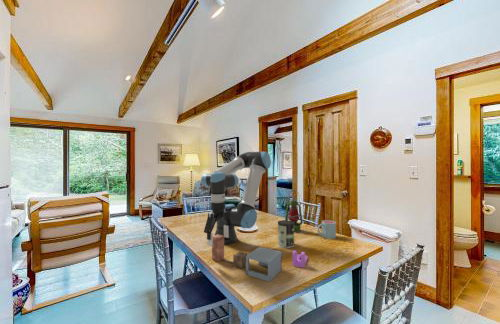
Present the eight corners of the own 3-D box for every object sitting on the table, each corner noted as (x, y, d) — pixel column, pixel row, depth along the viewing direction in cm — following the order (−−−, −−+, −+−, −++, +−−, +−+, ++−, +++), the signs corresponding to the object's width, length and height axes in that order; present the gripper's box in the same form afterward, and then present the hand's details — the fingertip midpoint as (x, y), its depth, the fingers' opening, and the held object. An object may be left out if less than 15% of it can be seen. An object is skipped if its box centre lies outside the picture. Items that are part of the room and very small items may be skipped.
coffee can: (294, 242, 144) (294, 220, 144) (294, 248, 134) (294, 225, 134) (278, 241, 147) (278, 219, 147) (277, 247, 136) (277, 223, 136)
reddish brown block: (211, 259, 119) (211, 236, 119) (217, 256, 123) (217, 234, 123) (241, 268, 109) (241, 243, 109) (247, 264, 113) (247, 240, 113)
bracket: (303, 268, 110) (303, 253, 110) (292, 265, 112) (292, 251, 112) (308, 257, 122) (308, 244, 122) (297, 255, 124) (298, 243, 124)
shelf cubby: (246, 274, 103) (246, 255, 103) (259, 263, 114) (259, 246, 114) (269, 281, 97) (269, 262, 97) (281, 269, 108) (281, 251, 108)
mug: (329, 233, 163) (329, 219, 163) (338, 237, 154) (338, 223, 154) (313, 235, 159) (313, 221, 159) (321, 239, 150) (321, 224, 150)
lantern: (282, 230, 169) (282, 190, 169) (287, 227, 178) (287, 189, 178) (300, 233, 162) (300, 192, 162) (304, 230, 171) (305, 190, 171)
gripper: (207, 206, 107) (208, 251, 107) (237, 198, 128) (237, 235, 129) (196, 205, 111) (196, 248, 111) (226, 197, 132) (226, 233, 133)
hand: (218, 241), depth 120 cm, fingers open, 13 cm apart
